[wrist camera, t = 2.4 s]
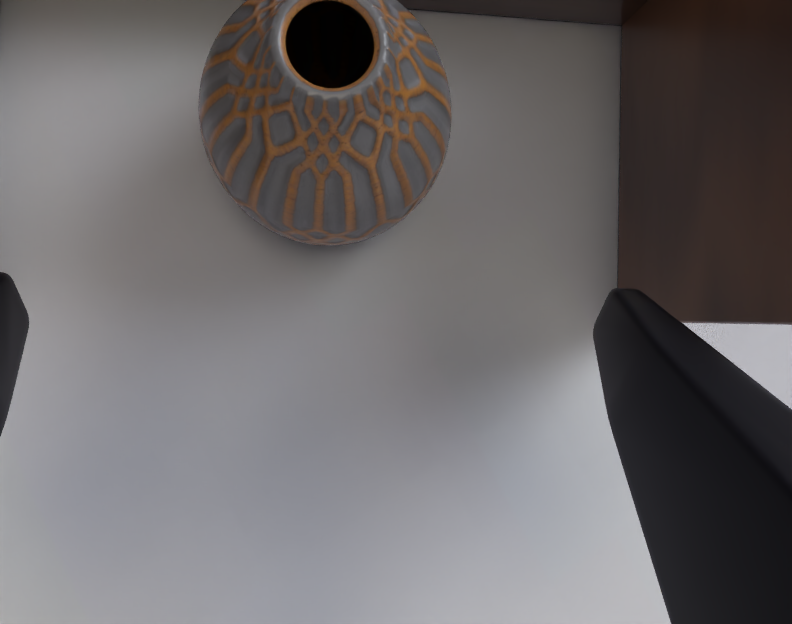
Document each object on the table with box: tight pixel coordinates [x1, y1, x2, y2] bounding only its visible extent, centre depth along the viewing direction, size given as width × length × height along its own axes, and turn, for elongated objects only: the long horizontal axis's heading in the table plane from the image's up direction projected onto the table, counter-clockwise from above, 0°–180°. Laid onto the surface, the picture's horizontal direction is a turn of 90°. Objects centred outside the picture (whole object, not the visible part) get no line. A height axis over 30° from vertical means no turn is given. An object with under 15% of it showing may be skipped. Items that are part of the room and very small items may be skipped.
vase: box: [199, 0, 451, 246], centre depth 17 cm, size 7×7×9 cm
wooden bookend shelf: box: [397, 0, 792, 325], centre depth 16 cm, size 12×23×11 cm, turn 89°
